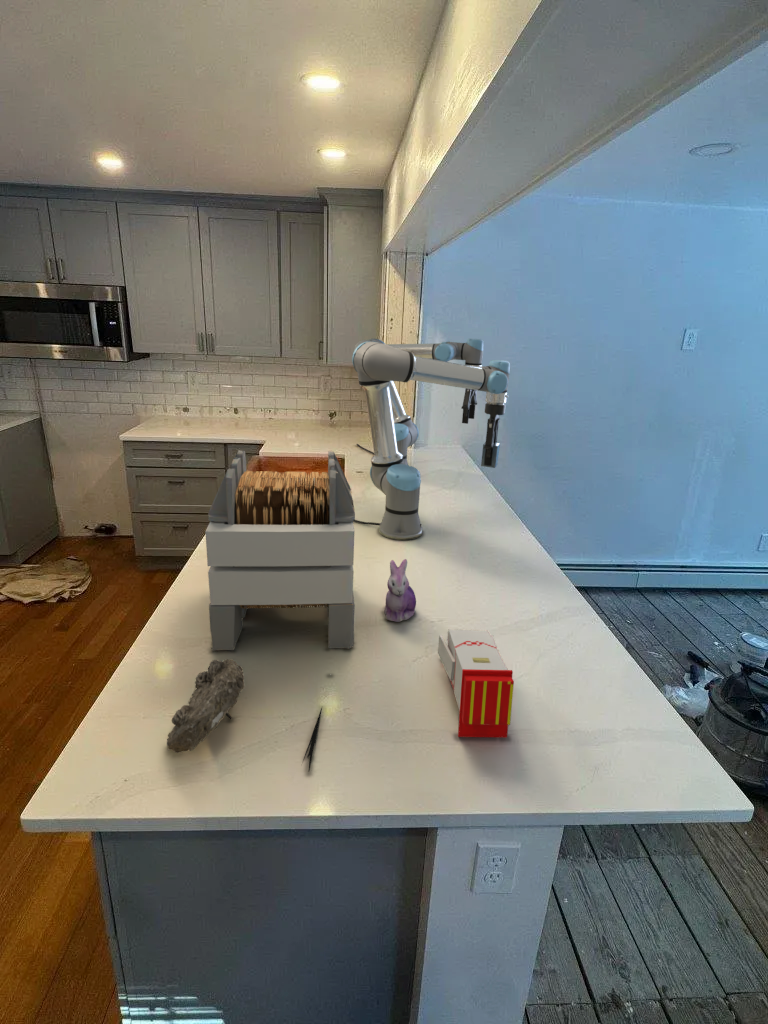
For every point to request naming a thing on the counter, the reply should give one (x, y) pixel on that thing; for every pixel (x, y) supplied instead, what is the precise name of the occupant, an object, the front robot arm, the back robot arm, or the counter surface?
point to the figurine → (399, 594)
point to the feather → (313, 740)
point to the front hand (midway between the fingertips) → (489, 463)
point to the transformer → (281, 548)
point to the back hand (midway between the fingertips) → (468, 420)
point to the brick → (494, 456)
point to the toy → (478, 682)
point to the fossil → (206, 705)
